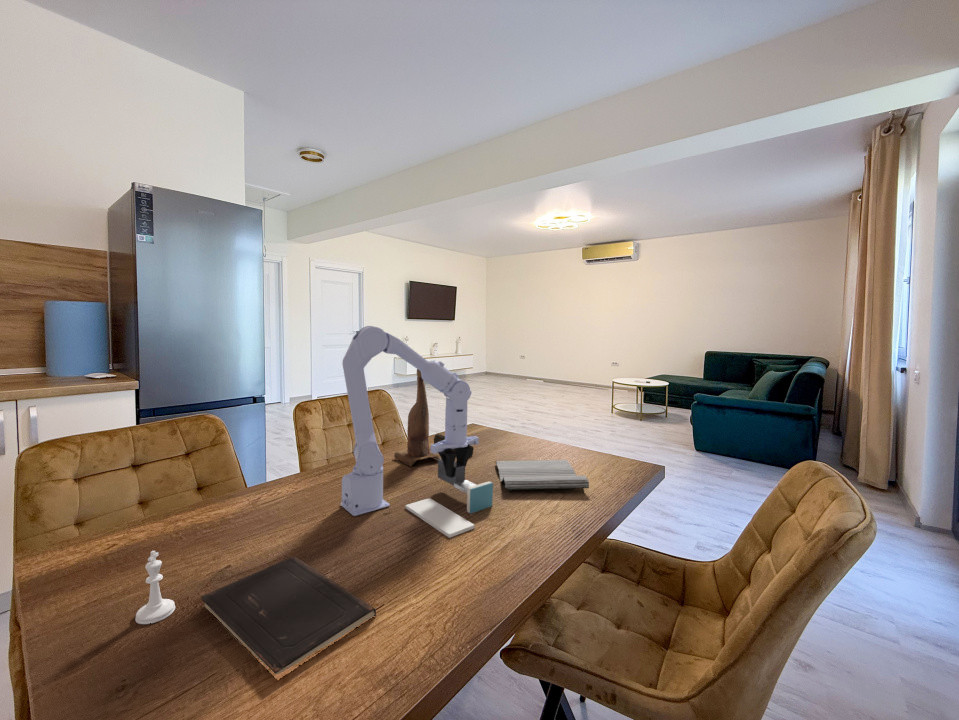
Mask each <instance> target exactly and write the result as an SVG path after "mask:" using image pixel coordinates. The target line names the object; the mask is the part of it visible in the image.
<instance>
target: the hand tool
mask: <svg viewBox="0 0 959 720" xmlns="http://www.w3.org/2000/svg"><path fill="white" fill-rule="evenodd" d="M443 440H445V435H444V434H440V433H436V434H435V435H434V438H433V444H435V443H438V442H440V441H443ZM470 447H472V448H473V452H472V454H471V455H470V457H472V456H473V455H474V448H475V447H474V446H473V445H470ZM452 451H453V452H454V453H456V452H455V449H452Z"/></svg>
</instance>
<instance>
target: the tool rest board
mask: <svg viewBox="0 0 959 720" xmlns="http://www.w3.org/2000/svg"><path fill="white" fill-rule="evenodd" d="M405 509H406V510H407V511H409V512H411V513H412V514H413V515H415V516H416V517H418V518H420V520H423V522H425V523H427V524H428V525H430V526H431V527H432V528H434V529H435V530H437V531H438V532H440V533H441V534H443V536H446V537H448V538H450V539H451V538H453V537H455V536H458V535H461V534H464V533H465V532H466V533H467V532H469V531H471V530H473V529H475V528H476V527H475V524H474V523H472V522H471V521H469V520H468V519H466V518H464V517H463V516H461V515H459V514H457V513H455V512H454V511H452V510H451V509H448V508H447V507H445V506H444V505H442V504H441V503H439V502H437V501H436V500H434V499H432V498H430V497H428V498H424V499H421V500H418V501H415V502H412V503H409V504H405Z"/></svg>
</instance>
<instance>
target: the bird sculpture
mask: <svg viewBox="0 0 959 720" xmlns="http://www.w3.org/2000/svg"><path fill="white" fill-rule="evenodd" d="M416 381H417V383H416V384H417V386H416V387H417V389H416V400H415V401H416V402H415V403H414V404H413V405H412V407H411V408H410V410H409V412H408V415H407V442H406V444H407V447H406V448H407V449H405V450H398V451H395V453H394V455H393V457H395V460H397V459H398V460H400V461H402V462H404V463H405V464H407V465H406V466H408V465H409V467H410V468H412V466H413V464H415V463H416V461H418V460H423V459H427V458H433V459H435V460H437V461H438V459H441V457H440V455H438V454H434V453H432V452H431V451H430V443H429V438H430V416H429V415H430V413H429V405H428V399H427V391H426V384H425V381H424V380H423V379H422V377H421V371H420V370H418V369H417V368H416ZM398 460H397V461H398ZM402 462H401V463H402ZM404 463H403V464H404ZM405 464H404V465H405Z"/></svg>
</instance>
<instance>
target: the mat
mask: <svg viewBox="0 0 959 720" xmlns="http://www.w3.org/2000/svg"><path fill="white" fill-rule="evenodd" d="M495 464H496V467H497V469H498V470H497V471H498V475H499V480H500V483H503V484H504V487H505V489H506V490H508V491H509V492H511V491H524V490H525V491H529V490H530V491H531V490H532V491H533V490H549V489H550V490H555V489H557V490H558V489H561V490H562V489H581V490H582V493H584V489H589V487H590V480H589V479H588V477H587V475H577V474H576V471H575V469H574V467H573V466H572V465H571V464H570V462H569V461H568V460H567V459H544V460H543V459H539V460H538V459H537V460H535V459H534V460H532V459H531V460H530V459H529V460H495Z"/></svg>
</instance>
